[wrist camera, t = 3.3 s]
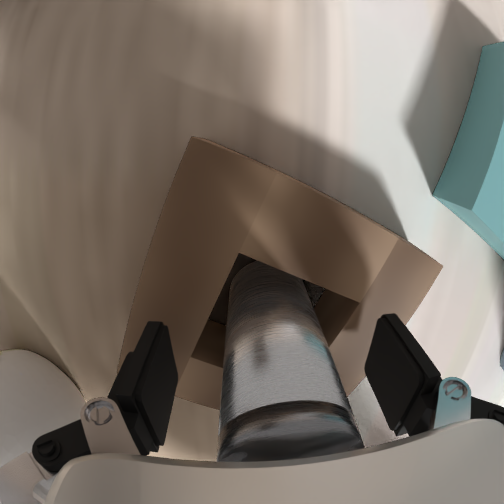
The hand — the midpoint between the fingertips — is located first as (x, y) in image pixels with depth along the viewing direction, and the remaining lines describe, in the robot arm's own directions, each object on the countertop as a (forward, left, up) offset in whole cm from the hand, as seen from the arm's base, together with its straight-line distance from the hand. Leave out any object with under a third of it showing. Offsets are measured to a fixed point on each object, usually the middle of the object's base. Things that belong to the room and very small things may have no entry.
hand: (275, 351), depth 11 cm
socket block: (-12, -15, -5) cm, 20 cm away
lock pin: (0, 0, -5) cm, 5 cm away
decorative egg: (+13, +17, -5) cm, 22 cm away
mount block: (0, 0, -5) cm, 5 cm away
